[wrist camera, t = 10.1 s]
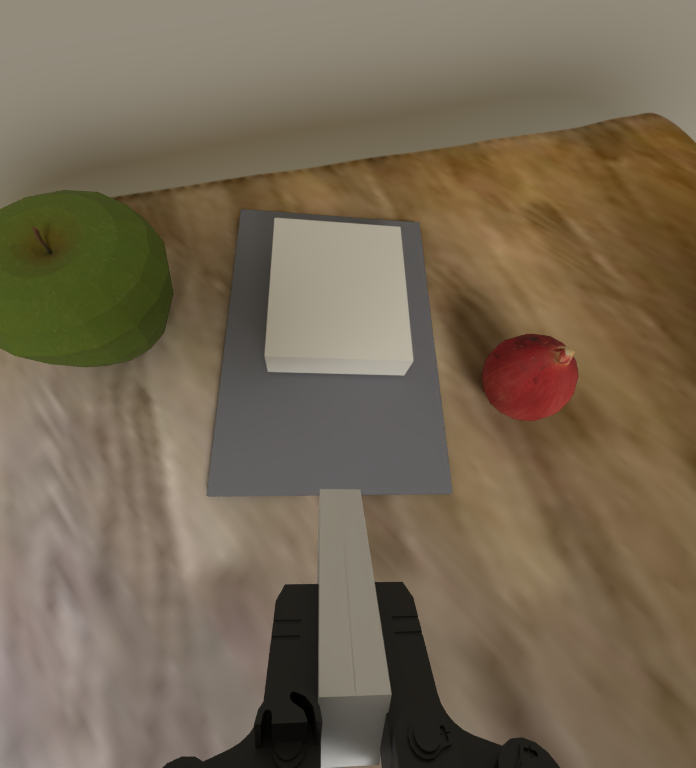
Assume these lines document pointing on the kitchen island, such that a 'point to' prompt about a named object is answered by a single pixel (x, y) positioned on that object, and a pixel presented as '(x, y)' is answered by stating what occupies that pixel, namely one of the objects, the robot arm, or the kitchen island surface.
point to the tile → (337, 299)
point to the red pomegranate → (530, 376)
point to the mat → (323, 396)
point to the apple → (80, 280)
